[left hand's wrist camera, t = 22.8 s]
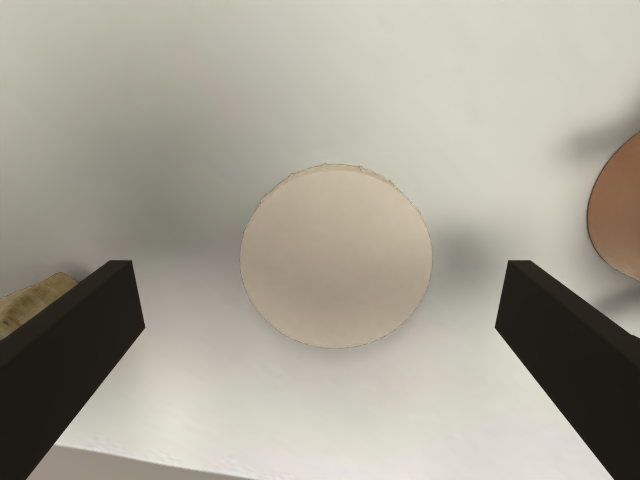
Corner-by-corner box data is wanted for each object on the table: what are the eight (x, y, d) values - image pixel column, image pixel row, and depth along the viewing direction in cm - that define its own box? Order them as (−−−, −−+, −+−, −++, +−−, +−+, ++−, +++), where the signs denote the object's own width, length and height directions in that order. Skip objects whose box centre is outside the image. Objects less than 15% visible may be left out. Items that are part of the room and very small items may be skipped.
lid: (212, 258, 19) (199, 274, 17) (326, 121, 17) (326, 122, 15) (340, 355, 21) (341, 379, 19) (460, 244, 19) (475, 258, 17)
